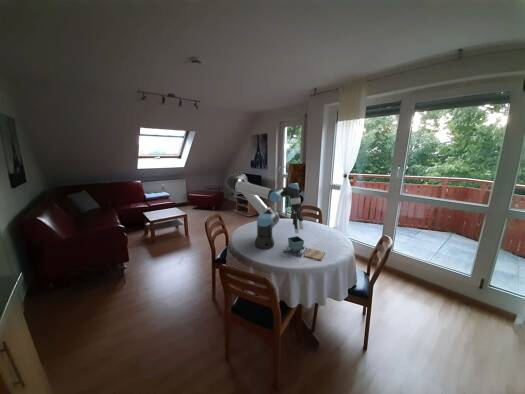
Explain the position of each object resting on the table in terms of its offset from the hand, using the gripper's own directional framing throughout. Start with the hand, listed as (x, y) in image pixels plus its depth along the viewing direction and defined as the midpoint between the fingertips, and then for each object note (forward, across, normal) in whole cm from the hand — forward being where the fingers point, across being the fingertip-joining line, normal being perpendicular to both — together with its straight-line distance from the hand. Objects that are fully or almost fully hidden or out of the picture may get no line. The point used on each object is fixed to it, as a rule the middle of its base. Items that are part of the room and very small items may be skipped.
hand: (299, 231), depth 158 cm
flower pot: (+13, -6, +3) cm, 15 cm away
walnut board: (+16, -6, -10) cm, 20 cm away
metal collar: (+13, -6, +3) cm, 14 cm away
